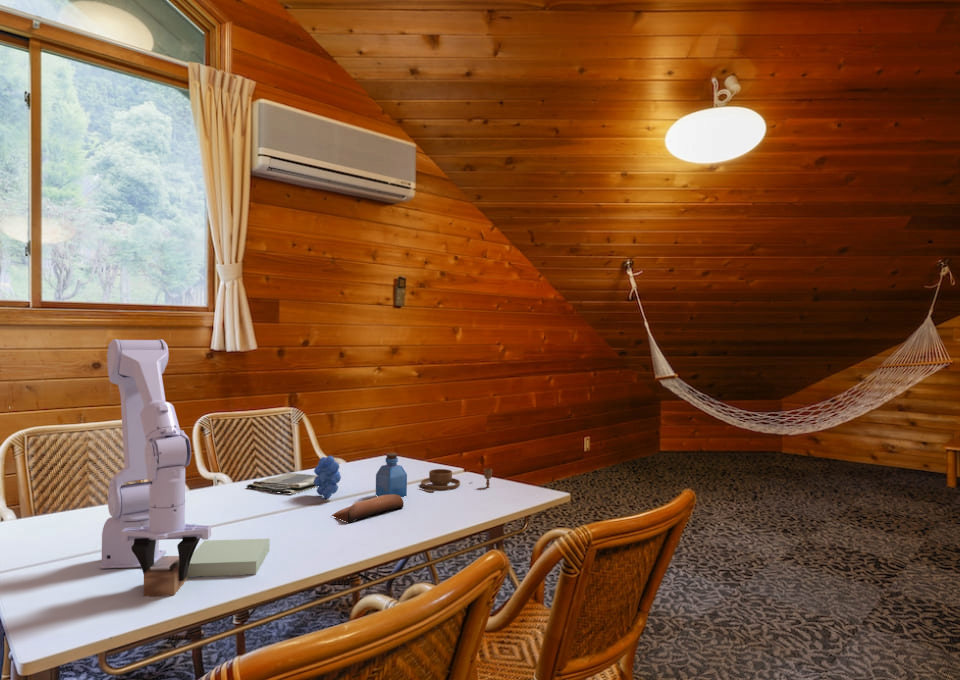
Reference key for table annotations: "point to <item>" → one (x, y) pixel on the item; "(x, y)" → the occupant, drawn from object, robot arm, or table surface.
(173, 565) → the lid plate
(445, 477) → the place setting
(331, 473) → the grapes
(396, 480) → the perfume bottle
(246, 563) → the stand
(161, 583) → the brown box
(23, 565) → the table surface
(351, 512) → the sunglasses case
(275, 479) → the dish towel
